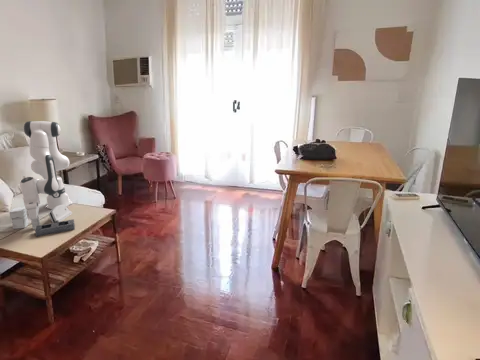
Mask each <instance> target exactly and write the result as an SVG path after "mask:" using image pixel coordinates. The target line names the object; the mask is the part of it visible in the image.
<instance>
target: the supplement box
mask: <svg viewBox="0 0 480 360" xmlns="http://www.w3.org/2000/svg"><path fill="white" fill-rule="evenodd" d="M9 217H10V220H11V224H12V229H13V230H16V229H25V228H26V227H28V225H29V224H30V222H29V217H28V212H27V209H26V208H25V206H23V207H22V206H21V207H13V208H12V209H10V210H9Z"/></svg>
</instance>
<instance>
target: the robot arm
mask: <svg viewBox="0 0 480 360" xmlns="http://www.w3.org/2000/svg"><path fill="white" fill-rule="evenodd" d="M61 130H62V129H61V126H60V123H58V122H56V121H48V120H47V121H46V120H40V121H39V120H37V121H36V120H35V121H34V120H33V121H32V120H31V121H26V122H25V123H24V125H23V132H24V134H25V135H26V136H27V137H29V154H30V156H31V158H32V159H33V161H32V162H31V163H30V168H31V170H32V172H34V173H35V174H37V175H39V176H40V177H41V178H35V177H32V176H27V177H24V178H22V179H21V180H20V192H21V194H22V199H23V204H24V207H25V209H26V213H27V216H28V219H29V220H30V221H31V220H33V222H34V225H36V224H37V217H39V211H40V207H39V205H40V204H41V200H40V196H39V195H40V194H43V195H47V196H46V203H47V204H48V206H47V204H46V206H47V208H46V209H50V210H52V209H53V208H54V207H56V206H59V205H66V206H67V207H68V206H70V205H73V201H72V200H71V199H70V197H69V194H68V192H67V193H66V188H65V186H64V183H63V178H62V177H61V176H60V175H57V172H58V171H63V170H65V169H68V168H69V166H70V164H71V163H70V159H69V157H68V156H66V155H64V154H62V153H61V152H60V151H59V149H58V144H57V137H59V136H60V134H61ZM56 171H57V172H56Z"/></svg>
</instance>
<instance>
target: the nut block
mask: <svg viewBox="0 0 480 360" xmlns="http://www.w3.org/2000/svg"><path fill="white" fill-rule="evenodd" d="M30 222H31V226H32V230H34V231H35V230H36V226H39V225H42V224H41V221H40V216H38V217H37V224H36V225H34V222H33V220H30Z"/></svg>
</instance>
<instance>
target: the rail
mask: <svg viewBox="0 0 480 360" xmlns="http://www.w3.org/2000/svg"><path fill="white" fill-rule="evenodd" d="M75 227H76V226H75V219H68V220H62V221H61V222H58V221H56V222H54V223H52V222H50V223H46V224H41V225H39V226H36V229H35V230H34V231H35V232H34V233H35V235H36V237H37V238H38V237H43V236H48V235H52V234H58V233H65V232H69V231H73V230H76V229H75Z"/></svg>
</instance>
